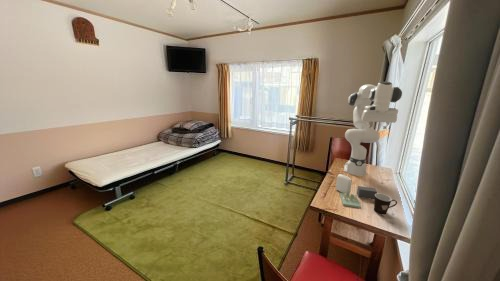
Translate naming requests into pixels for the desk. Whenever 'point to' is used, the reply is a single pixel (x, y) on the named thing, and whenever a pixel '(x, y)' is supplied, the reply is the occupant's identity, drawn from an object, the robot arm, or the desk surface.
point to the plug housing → (366, 192)
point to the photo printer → (343, 184)
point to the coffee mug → (382, 203)
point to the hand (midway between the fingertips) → (376, 128)
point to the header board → (350, 200)
